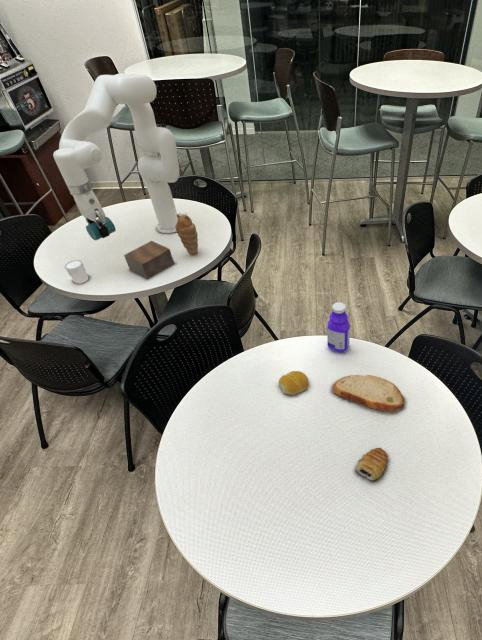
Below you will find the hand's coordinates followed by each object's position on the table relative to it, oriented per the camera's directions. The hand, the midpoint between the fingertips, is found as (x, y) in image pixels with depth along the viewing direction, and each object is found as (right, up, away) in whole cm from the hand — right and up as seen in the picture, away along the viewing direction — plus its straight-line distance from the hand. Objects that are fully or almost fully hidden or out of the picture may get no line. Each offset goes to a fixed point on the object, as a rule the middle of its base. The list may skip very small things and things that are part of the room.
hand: (100, 233), depth 164 cm
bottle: (+92, -46, -22) cm, 105 cm away
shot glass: (-13, -16, +10) cm, 23 cm away
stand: (+14, -9, +14) cm, 22 cm away
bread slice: (+100, -62, -37) cm, 124 cm away
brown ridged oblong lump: (+30, -2, +20) cm, 36 cm away
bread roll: (+77, -59, -33) cm, 103 cm away
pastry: (+99, -81, -53) cm, 138 cm away
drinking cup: (+1, 0, +1) cm, 1 cm away
